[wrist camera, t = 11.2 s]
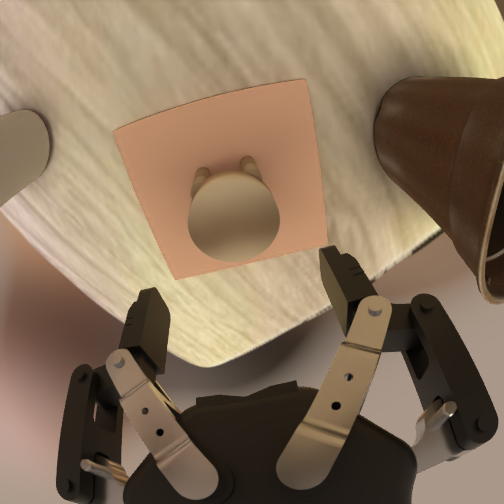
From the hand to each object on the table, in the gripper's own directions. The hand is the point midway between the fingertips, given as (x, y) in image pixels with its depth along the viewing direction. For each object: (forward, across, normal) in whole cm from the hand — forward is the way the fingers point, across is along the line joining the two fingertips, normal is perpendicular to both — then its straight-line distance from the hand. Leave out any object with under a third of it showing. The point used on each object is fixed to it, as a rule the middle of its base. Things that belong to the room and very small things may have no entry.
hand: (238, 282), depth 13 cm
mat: (+13, 0, 0) cm, 13 cm away
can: (+13, +18, -11) cm, 25 cm away
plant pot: (+13, -20, -2) cm, 24 cm away
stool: (+12, 0, 0) cm, 12 cm away
